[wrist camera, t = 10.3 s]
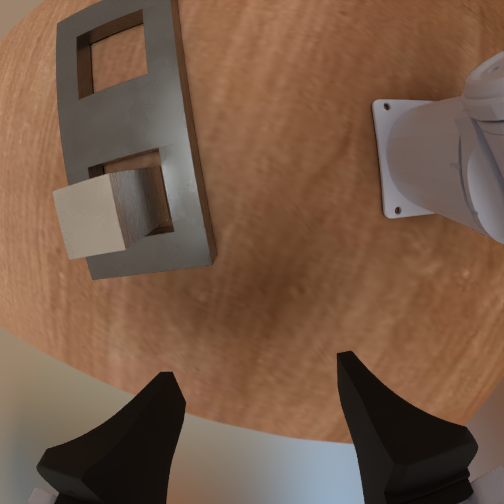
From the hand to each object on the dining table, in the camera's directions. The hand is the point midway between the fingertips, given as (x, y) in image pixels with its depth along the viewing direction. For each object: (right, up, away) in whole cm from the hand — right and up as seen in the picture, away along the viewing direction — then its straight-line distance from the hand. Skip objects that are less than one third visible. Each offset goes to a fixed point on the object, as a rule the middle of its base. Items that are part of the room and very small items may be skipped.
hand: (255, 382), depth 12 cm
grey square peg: (-8, +9, +7) cm, 14 cm away
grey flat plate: (-8, +14, +6) cm, 17 cm away
